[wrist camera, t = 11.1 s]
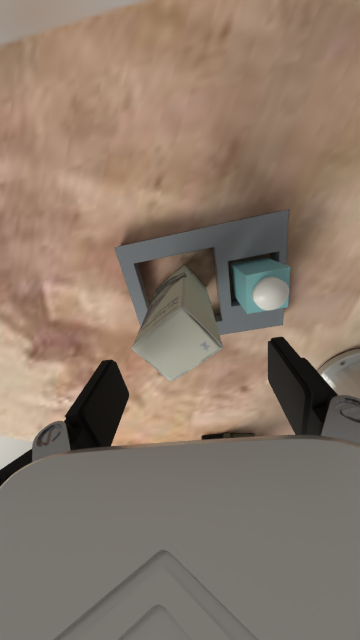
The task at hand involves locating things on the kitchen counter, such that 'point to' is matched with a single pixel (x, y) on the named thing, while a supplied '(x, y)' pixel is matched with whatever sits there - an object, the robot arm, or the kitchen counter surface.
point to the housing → (227, 245)
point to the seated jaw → (261, 284)
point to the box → (178, 326)
